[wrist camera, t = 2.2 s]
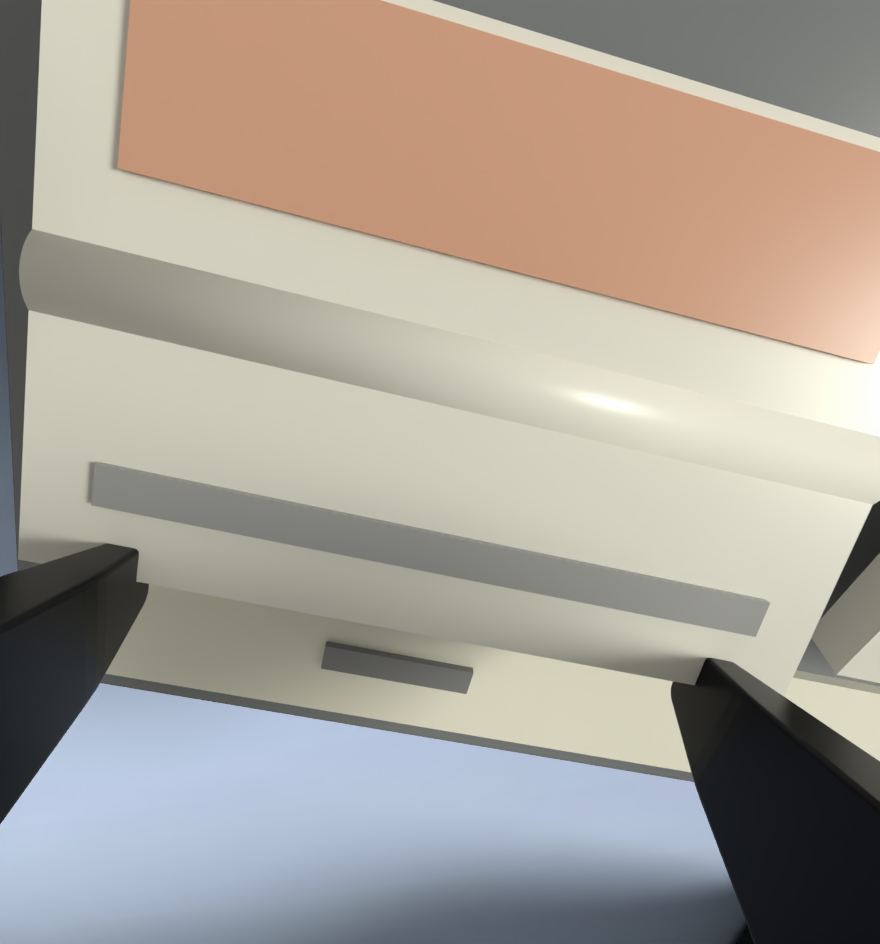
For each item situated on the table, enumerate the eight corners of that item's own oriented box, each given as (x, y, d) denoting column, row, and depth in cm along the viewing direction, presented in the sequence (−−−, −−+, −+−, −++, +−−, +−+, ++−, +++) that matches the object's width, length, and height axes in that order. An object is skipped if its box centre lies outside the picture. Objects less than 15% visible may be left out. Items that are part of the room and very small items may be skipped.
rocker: (740, 658, 10) (789, 709, 9) (69, 528, 9) (7, 565, 8) (936, 201, 8) (1038, 177, 7) (108, -46, 7) (34, -134, 6)
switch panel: (1048, 765, 18) (1183, 877, 15) (98, 592, 15) (7, 684, 12) (1590, 153, 11) (2043, 114, 8) (112, -375, 8) (-83, -761, 5)
